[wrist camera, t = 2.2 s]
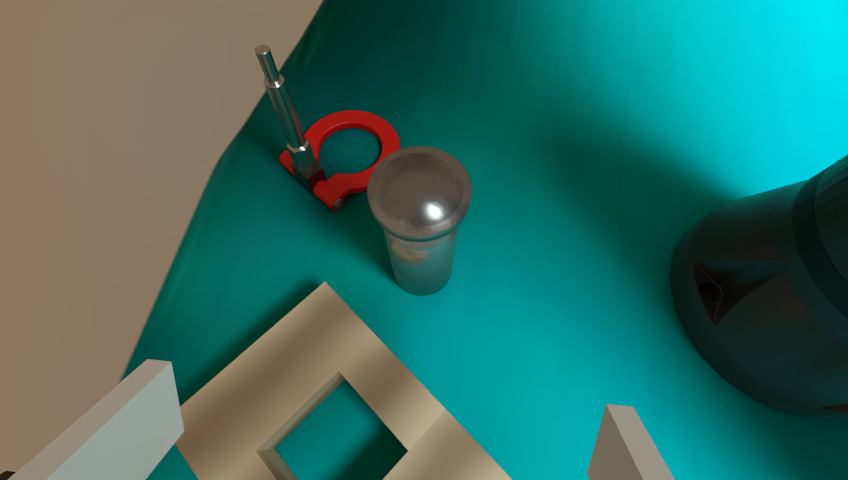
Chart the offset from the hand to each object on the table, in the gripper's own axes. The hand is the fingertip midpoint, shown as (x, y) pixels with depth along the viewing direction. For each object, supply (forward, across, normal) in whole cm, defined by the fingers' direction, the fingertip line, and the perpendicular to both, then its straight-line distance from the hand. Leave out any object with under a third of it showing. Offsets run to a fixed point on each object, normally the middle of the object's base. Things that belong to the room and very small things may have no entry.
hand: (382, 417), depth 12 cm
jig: (+9, -4, -12) cm, 15 cm away
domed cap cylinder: (+18, 0, -3) cm, 18 cm away
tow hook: (+25, -7, +4) cm, 26 cm away
